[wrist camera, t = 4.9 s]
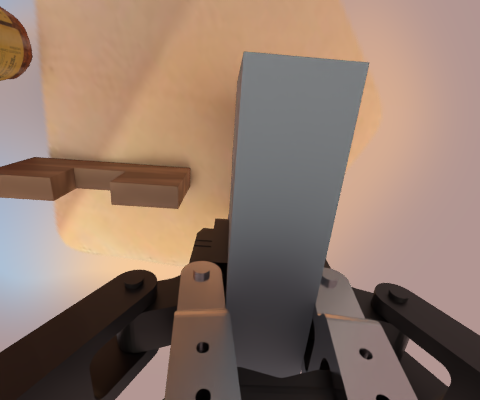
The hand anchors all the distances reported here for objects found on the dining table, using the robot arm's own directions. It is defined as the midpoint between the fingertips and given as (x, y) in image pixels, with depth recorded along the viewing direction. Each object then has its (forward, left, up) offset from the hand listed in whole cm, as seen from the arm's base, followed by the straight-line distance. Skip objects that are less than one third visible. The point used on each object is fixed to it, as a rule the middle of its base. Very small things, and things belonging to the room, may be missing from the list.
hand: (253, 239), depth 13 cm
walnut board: (+2, -13, -17) cm, 22 cm away
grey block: (0, 0, -8) cm, 8 cm away
